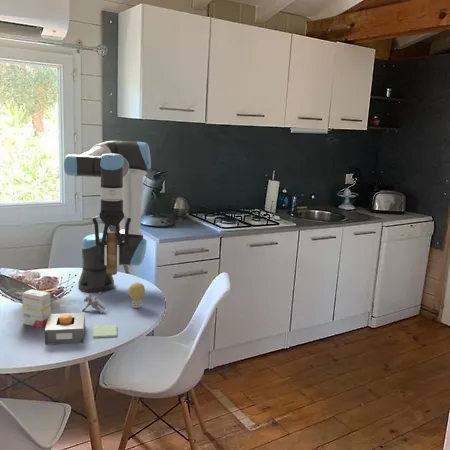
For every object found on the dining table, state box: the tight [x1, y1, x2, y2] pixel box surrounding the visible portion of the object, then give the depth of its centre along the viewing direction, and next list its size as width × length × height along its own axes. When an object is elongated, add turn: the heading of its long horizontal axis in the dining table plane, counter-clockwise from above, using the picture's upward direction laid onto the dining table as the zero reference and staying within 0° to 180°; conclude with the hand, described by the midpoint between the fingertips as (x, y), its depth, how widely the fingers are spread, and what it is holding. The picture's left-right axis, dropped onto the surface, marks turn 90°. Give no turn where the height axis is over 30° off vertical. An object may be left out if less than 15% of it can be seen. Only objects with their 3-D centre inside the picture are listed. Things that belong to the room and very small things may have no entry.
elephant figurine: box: [82, 292, 107, 314], centre depth 188 cm, size 10×6×9 cm
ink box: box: [21, 288, 52, 329], centre depth 173 cm, size 9×5×12 cm, turn 72°
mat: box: [92, 324, 118, 339], centre depth 171 cm, size 8×8×1 cm
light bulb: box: [128, 282, 146, 309], centre depth 192 cm, size 6×6×10 cm
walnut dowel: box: [107, 231, 118, 276], centre depth 172 cm, size 4×4×15 cm
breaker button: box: [59, 315, 72, 325], centre depth 166 cm, size 4×4×3 cm
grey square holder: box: [44, 312, 86, 345], centre depth 167 cm, size 13×12×5 cm
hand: (111, 263), depth 173 cm, fingers closed on walnut dowel, 3 cm apart
